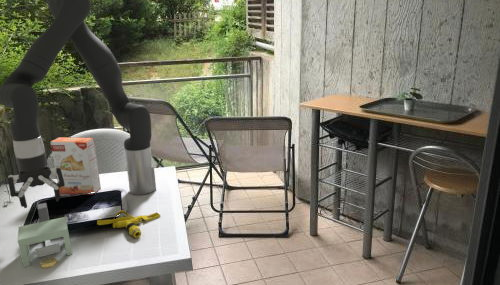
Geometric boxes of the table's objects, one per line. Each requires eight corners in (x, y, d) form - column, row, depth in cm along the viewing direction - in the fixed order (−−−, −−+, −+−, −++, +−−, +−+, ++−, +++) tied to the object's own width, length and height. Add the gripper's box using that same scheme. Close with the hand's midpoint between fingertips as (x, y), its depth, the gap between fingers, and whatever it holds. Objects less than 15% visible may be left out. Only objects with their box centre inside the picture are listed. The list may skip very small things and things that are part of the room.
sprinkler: (110, 234, 113) (93, 213, 125) (109, 247, 114) (93, 225, 126) (172, 221, 125) (152, 203, 136) (171, 233, 126) (152, 214, 137)
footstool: (69, 240, 119) (65, 216, 116) (72, 254, 112) (67, 228, 109) (24, 252, 113) (18, 227, 111) (23, 266, 107) (17, 240, 104)
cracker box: (58, 194, 151) (49, 141, 145) (67, 187, 157) (58, 136, 150) (94, 195, 149) (85, 141, 143) (101, 188, 155) (94, 136, 149)
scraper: (57, 227, 127) (52, 201, 124) (60, 251, 113) (55, 223, 111) (36, 232, 124) (30, 205, 121) (36, 257, 111) (30, 228, 108)
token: (57, 259, 110) (56, 256, 110) (57, 266, 107) (56, 263, 107) (41, 263, 109) (40, 259, 108) (40, 270, 105) (40, 267, 105)
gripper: (56, 144, 121) (66, 193, 126) (2, 153, 115) (15, 204, 120) (58, 151, 115) (68, 202, 120) (0, 161, 109) (14, 214, 114)
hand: (41, 203), depth 120 cm, fingers open, 8 cm apart
